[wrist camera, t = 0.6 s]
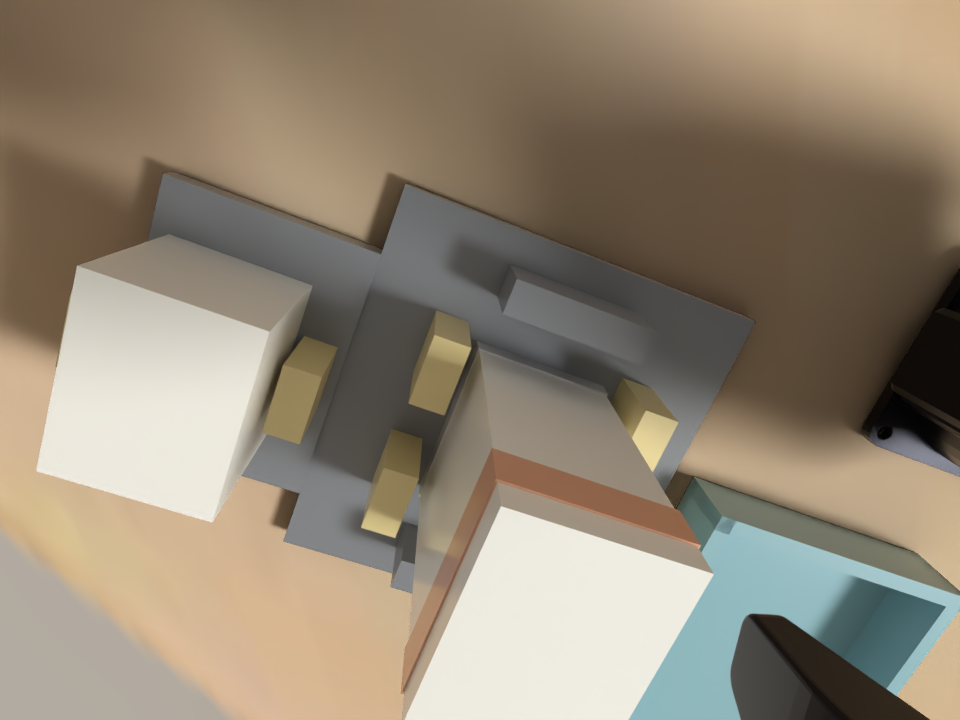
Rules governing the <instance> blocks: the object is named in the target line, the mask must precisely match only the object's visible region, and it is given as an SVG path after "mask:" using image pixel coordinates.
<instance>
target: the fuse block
mask: <svg viewBox="0 0 960 720" xmlns="http://www.w3.org/2000/svg"><path fill="white" fill-rule="evenodd" d="M754 324H755V321H753V320H751V319H750V318H748V317H746V316H744V315H741V314H739V313H736V312H734V311H731V310H728V309H726V308H723V307H721V306H718V305H716V304H713V303H711V302H708V301H705V300H703V299H700V298H698V297H695V296H693V295H690V294H688V293H685V292H683V291H680V290H677V289H675V288H672V287H670V286H667V285H665V284H662V283H660V282H657V281H655V280H652V279H649V278H647V277H644V276H642V275H639V274H637V273H634V272H632V271H629V270H627V269H624V268H621V267H619V266H616V265H614V264H611V263H609V262H606V261H604V260H601V259H599V258H596V257H593V256H591V255H588V254H586V253H583V252H581V251H578V250H576V249H573V248H571V247H568V246H565V245H563V244H560V243H558V242H555V241H553V240H550V239H548V238H545V237H542V236H540V235H537V234H535V233H532V232H530V231H527V230H525V229H522V228H520V227H517V226H514V225H512V224H509V223H507V222H504V221H502V220H499V219H497V218H494V217H492V216H489V215H486V214H484V213H481V212H479V211H476V210H474V209H471V208H469V207H466V206H464V205H461V204H458V203H456V202H453V201H451V200H448V199H446V198H443V197H441V196H438V195H436V194H433V193H430V192H428V191H425V190H423V189H420V188H418V187H415V186H413V185H410V184H408V183H406V184H405V186H404V189H403V192H402V195H401V198H400V201H399V204H398V207H397V210H396V213H395V215H394V218H393V221H392V224H391V227H390V230H389V233H388V236H387V239H386V242H385V245H384V248H383V249H380V248H377V247H375V246H372V245H369V244H367V243H364V242H361V241H359V240H356V239H353V238H351V237H348V236H345V235H343V234H340V233H337V232H334V231H332V230H329V229H326V228H324V227H321V226H318V225H316V224H313V223H310V222H308V221H305V220H302V219H300V218H297V217H294V216H292V215H289V214H286V213H284V212H281V211H278V210H276V209H273V208H270V207H268V206H265V205H262V204H260V203H257V202H254V201H252V200H249V199H246V198H243V197H241V196H238V195H235V194H233V193H230V192H227V191H225V190H222V189H219V188H217V187H214V186H211V185H209V184H206V183H203V182H201V181H198V180H195V179H193V178H190V177H187V176H185V175H182V174H179V173H177V172H171V173H163V176H162V180H161V185H160V189H159V193H158V198H157V202H156V206H155V211H154V215H153V219H152V224H151V228H150V232H149V237H148V241H147V242H145V243H142V244H139V245H136V246H133V247H130V248H127V249H124V250H121V251H118V252H115V253H112V254H110V255H107V256H104V257H101V258H98V259H95V260H92V261H89V262H86V263H83V264H80V265H77V269H76V274H75V279H74V284H73V289H72V292H71V293H70V296H69V301H68V306H67V312H66V317H65V322H64V327H63V332H62V337H61V342H60V347H59V352H58V357H57V362H56V367H57V369H56V374H55V379H54V384H53V389H52V394H51V399H50V404H49V409H48V414H47V419H46V424H45V429H44V434H43V439H42V444H41V449H40V454H39V459H38V464H37V470H36V471H38V472H41V473H44V474H48V475H51V476H55V477H58V478H62V479H65V480H68V481H72V482H75V483H79V484H82V485H85V486H89V487H92V488H96V489H99V490H103V491H106V492H109V493H113V494H116V495H120V496H123V497H126V498H130V499H133V500H137V501H140V502H143V503H147V504H150V505H154V506H157V507H161V508H164V509H167V510H171V511H174V512H178V513H181V514H184V515H188V516H191V517H195V518H198V519H202V520H205V521H208V522H213V521H214V519H215V518H216V516H217V514H218V513H219V511H220V509H221V508H222V506H223V505H224V503H225V501H226V500H227V498H228V497H229V495H230V493H231V492H232V490H233V488H234V487H235V485H236V484H237V482H238V480H239V479H240V477H241V476H244V477H247V478H250V479H254V480H257V481H260V482H264V483H267V484H270V485H273V486H277V487H280V488H283V489H286V490H290V491H293V492H296V493H300V494H299V497H298V500H297V502H296V505H295V508H294V511H293V514H292V517H291V520H290V523H289V526H288V529H287V532H286V535H285V538H284V540H283V541H284V542H287V543H291V544H294V545H297V546H301V547H304V548H308V549H311V550H314V551H318V552H321V553H325V554H328V555H332V556H335V557H338V558H342V559H345V560H349V561H352V562H355V563H359V564H362V565H366V566H369V567H372V568H376V569H379V570H383V571H386V572H389V573H392V580H391V587H392V588H395V589H399V590H402V591H406V592H409V593H412V592H413V580H414V568H415V556H416V544H417V532H418V520H419V508H420V497H419V485H420V482H421V480H422V477H423V475H424V472H425V470H426V467H427V465H428V462H429V460H430V458H431V455H432V453H433V450H434V448H435V445H436V443H437V440H438V438H439V435H440V433H441V430H442V428H443V425H444V423H445V420H446V418H447V415H448V413H449V410H450V408H451V405H452V403H453V401H454V398H455V396H456V393H457V391H458V388H459V386H460V383H461V381H462V378H463V376H464V373H465V371H466V368H467V366H468V363H469V361H470V358H471V356H472V353H473V351H474V348H475V346H476V343H477V341H479V342H482V343H485V344H488V345H490V346H493V347H496V348H499V349H502V350H504V351H507V352H510V353H513V354H515V355H518V356H521V357H524V358H527V359H529V360H532V361H535V362H538V363H540V364H543V365H546V366H549V367H552V368H554V369H557V370H560V371H563V372H566V373H568V374H571V375H574V376H577V377H579V378H582V379H585V380H588V381H591V382H593V383H596V384H599V385H602V386H603V387H604V389H605V390H606V392H607V393H608V396H607V398H608V400H609V401H610V403H611V405H612V406H613V408H614V410H615V411H616V413H617V415H618V416H619V418H620V419H621V421H622V423H623V424H624V426H625V428H626V429H627V431H628V433H629V434H630V436H631V438H632V439H633V441H634V443H635V444H636V446H637V448H638V449H639V451H640V453H641V454H642V456H643V458H644V459H645V461H646V462H647V464H648V466H649V467H650V469H651V471H652V472H653V474H654V476H655V477H656V479H657V481H658V482H659V484H660V486H661V487H662V489H663V491H664V492H665V490H666V489H667V487H668V485H669V483H670V481H671V479H672V477H673V476H674V474H675V472H676V470H677V468H678V466H679V464H680V462H681V461H682V459H683V457H684V455H685V453H686V451H687V449H688V447H689V446H690V444H691V442H692V440H693V438H694V436H695V434H696V433H697V431H698V429H699V427H700V425H701V423H702V421H703V419H704V418H705V416H706V414H707V412H708V410H709V408H710V406H711V405H712V403H713V401H714V399H715V397H716V395H717V393H718V391H719V390H720V388H721V386H722V384H723V382H724V380H725V378H726V376H727V375H728V373H729V371H730V369H731V367H732V365H733V363H734V362H735V360H736V358H737V356H738V354H739V352H740V350H741V348H742V347H743V345H744V343H745V341H746V339H747V337H748V335H749V334H750V332H751V330H752V328H753V326H754Z"/></svg>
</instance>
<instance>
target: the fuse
mask: <svg viewBox="0 0 960 720" xmlns="http://www.w3.org/2000/svg"><path fill="white" fill-rule="evenodd" d="M607 396H608V393H607V392H606V390H605V389H604V387H603V386H602V385H599V384H596V383H593V382H591V381H588V380H585V379H582V378H579V377H577V376H574V375H571V374H568V373H566V372H563V371H560V370H557V369H554V368H552V367H549V366H546V365H543V364H540V363H538V362H535V361H532V360H529V359H527V358H524V357H521V356H518V355H515V354H513V353H510V352H507V351H504V350H502V349H499V348H496V347H493V346H490V345H488V344H485V343H482V342H479V341H477V343H476V346H475V348H474V351H473V353H472V356H471V358H470V361H469V363H468V366H467V368H466V371H465V373H464V376H463V378H462V381H461V383H460V386H459V388H458V391H457V393H456V396H455V398H454V401H453V403H452V405H451V408H450V410H449V413H448V415H447V418H446V420H445V423H444V425H443V428H442V430H441V433H440V435H439V438H438V440H437V443H436V445H435V448H434V450H433V453H432V455H431V458H430V460H429V462H428V465H427V467H426V470H425V472H424V475H423V477H422V480H421V482H420V485H419V497H420V508H419V520H418V532H417V544H416V556H415V568H414V580H413V592H412V604H411V616H410V628H409V640H408V643H407V645H406V647H405V654H404V665H403V676H402V687H401V694H404V700H403V712H402V720H629V718H630V716H631V715H632V713H633V711H634V710H635V708H636V706H637V704H638V703H639V701H640V699H641V698H642V696H643V694H644V693H645V691H646V689H647V687H648V686H649V684H650V682H651V681H652V679H653V677H654V676H655V674H656V672H657V670H658V669H659V667H660V665H661V664H662V662H663V660H664V658H665V657H666V655H667V653H668V652H669V650H670V648H671V647H672V645H673V643H674V641H675V640H676V638H677V636H678V635H679V633H680V631H681V630H682V628H683V626H684V624H685V623H686V621H687V619H688V618H689V616H690V614H691V612H692V611H693V609H694V607H695V606H696V604H697V602H698V601H699V599H700V597H701V595H702V594H703V592H704V590H705V589H706V587H707V585H708V584H709V582H710V580H711V578H712V577H713V575H714V573H713V572H712V570H711V568H710V567H709V565H708V563H707V562H706V560H705V558H704V557H703V555H702V553H701V552H700V550H699V548H700V546H701V544H700V543H699V541H698V540H697V538H696V536H695V535H694V533H693V531H692V530H691V528H690V527H689V525H688V523H687V522H686V520H685V518H684V517H683V515H682V514H681V512H680V510H677V509H674V507H673V505H672V504H671V502H670V501H669V499H668V497H667V496H666V494H665V492H664V491H663V489H662V487H661V486H660V484H659V482H658V481H657V479H656V477H655V476H654V474H653V472H652V471H651V469H650V467H649V466H648V464H647V462H646V461H645V459H644V458H643V456H642V454H641V453H640V451H639V449H638V448H637V446H636V444H635V443H634V441H633V439H632V438H631V436H630V434H629V433H628V431H627V429H626V428H625V426H624V424H623V423H622V421H621V419H620V418H619V416H618V415H617V413H616V411H615V410H614V408H613V406H612V405H611V403H610V401H609V400H608V398H607Z"/></svg>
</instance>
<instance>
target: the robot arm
mask: <svg viewBox="0 0 960 720" xmlns="http://www.w3.org/2000/svg"><path fill="white" fill-rule="evenodd" d="M883 426H885V428H884V430H883V431H882V432H881V433H880V434H877V432H878V430H879V429H880V428H881V427H883ZM862 434H863V435H864V437H865V438H866V439H867V440H869V441H870V442H871V443H873V444H874V445H876V446H878V447H881V448H883V449H886V450H889V451H891V452H894V453H897V454H900V455H902V456H905V457H908V458H910V459H913V460H916V461H918V462H921V463H924V464H927V465H929V466H932V467H935V468H937V469H940V470H943V471H945V472H948V473H951V474H954V475H956V476H959V477H960V269H959V270H958V272H957V274H956V275H955V277H954V278H953V280H952V282H951V283H950V285H949V286H948V288H947V290H946V291H945V293H944V295H943V296H942V298H941V299H940V301H939V303H938V304H937V306H936V307H935V309H934V311H933V312H932V314H931V316H930V317H929V319H928V320H927V322H926V324H925V325H924V327H923V328H922V330H921V332H920V333H919V335H918V337H917V338H916V340H915V341H914V343H913V345H912V346H911V348H910V350H909V351H908V353H907V354H906V356H905V358H904V359H903V361H902V362H901V364H900V366H899V367H898V369H897V371H896V372H895V374H894V375H893V377H892V379H891V380H890V382H889V383H888V385H887V387H886V388H885V390H884V392H883V393H882V395H881V396H880V398H879V400H878V401H877V403H876V404H875V406H874V408H873V409H872V411H871V413H870V414H869V416H868V417H867V419H866V421H865V422H864V425H863V427H862ZM730 680H731V687H732V691H733V694H734V698H735V702H736V705H737V709H738V712H739V716H740V719H741V720H930V719H928V718H927V717H925V716H924V715H923V714H921V713H920V712H918V711H917V710H916V709H914V708H913V707H911V706H910V705H908V704H907V703H906V702H904V701H903V700H901V699H900V698H899V697H897V696H896V695H894V694H893V693H891V692H890V691H889V690H887V689H886V688H884V687H883V686H882V685H880V684H879V683H877V682H876V681H874V680H873V679H872V678H870V677H869V676H867V675H866V674H865V673H863V672H862V671H860V670H859V669H858V668H856V667H855V666H853V665H852V664H850V663H849V662H848V661H846V660H845V659H843V658H842V657H841V656H839V655H838V654H836V653H835V652H833V651H832V650H831V649H829V648H828V647H826V646H825V645H824V644H822V643H821V642H819V641H818V640H816V639H815V638H814V637H812V636H811V635H809V634H808V633H807V632H805V631H804V630H802V629H801V628H799V627H798V626H797V625H795V624H794V623H792V622H791V621H790V620H788V619H787V618H785V617H783V616H781V615H774V614H756V613H752V614H749V615H747V616H746V617H745V618H744V620H743V622H742V625H741V629H740V632H739V636H738V640H737V644H736V648H735V652H734V656H733V660H732V664H731V670H730Z"/></svg>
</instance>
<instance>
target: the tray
mask: <svg viewBox="0 0 960 720" xmlns="http://www.w3.org/2000/svg"><path fill="white" fill-rule="evenodd" d="M676 509H677V510H680V512H681V514H682V515H683V517H684V518H685V520H686V522H687V523H688V525H689V527H690V528H691V530H692V531H693V533H694V535H695V536H696V538H697V540H698V541H699V543H700V544H701V546H700V548H699V550H700V552H701V553H702V555H703V557H704V558H705V560H706V562H707V563H708V565H709V567H710V568H711V570H712V572H713V573H714V575H713V577H712V578H711V580H710V582H709V584H708V585H707V587H706V589H705V590H704V592H703V594H702V595H701V597H700V599H699V601H698V602H697V604H696V606H695V607H694V609H693V611H692V612H691V614H690V616H689V618H688V619H687V621H686V623H685V624H684V626H683V628H682V630H681V631H680V633H679V635H678V636H677V638H676V640H675V641H674V643H673V645H672V647H671V648H670V650H669V652H668V653H667V655H666V657H665V658H664V660H663V662H662V664H661V665H660V667H659V669H658V670H657V672H656V674H655V676H654V677H653V679H652V681H651V682H650V684H649V686H648V687H647V689H646V691H645V693H644V694H643V696H642V698H641V699H640V701H639V703H638V704H637V706H636V708H635V710H634V711H633V713H632V715H631V716H630V718H629V720H741V719H740V716H739V712H738V709H737V705H736V702H735V698H734V694H733V691H732V687H731V680H730V670H731V664H732V660H733V656H734V652H735V648H736V644H737V640H738V636H739V632H740V629H741V625H742V622H743V620H744V618H745V617H746V616H747V615H749V614H752V613H756V614H774V615H781V616H783V617H785V618H787V619H788V620H790V621H791V622H792V623H794V624H795V625H797V626H798V627H799V628H801V629H802V630H804V631H805V632H807V633H808V634H809V635H811V636H812V637H814V638H815V639H816V640H818V641H819V642H821V643H822V644H824V645H825V646H826V647H828V648H829V649H831V650H832V651H833V652H835V653H836V654H838V655H839V656H841V657H842V658H843V659H845V660H846V661H848V662H849V663H850V664H852V665H853V666H855V667H856V668H858V669H859V670H860V671H862V672H863V673H865V674H866V675H867V676H869V677H870V678H872V679H873V680H874V681H876V682H877V683H879V684H880V685H882V686H883V687H884V688H886V689H887V690H889V691H890V692H891V693H893V694H894V695H896V696H897V694H898V693H899V692H900V690H901V689H902V688H903V686H904V685H905V684H906V682H907V681H908V679H909V678H910V677H911V675H912V674H913V673H914V671H915V670H916V669H917V667H918V666H919V665H920V663H921V662H922V660H923V659H924V658H925V656H926V655H927V654H928V652H929V651H930V650H931V648H932V647H933V646H934V644H935V643H936V642H937V640H938V639H939V637H940V636H941V635H942V633H943V632H944V631H945V629H946V628H947V627H948V625H949V624H950V623H951V621H952V620H953V618H954V617H955V616H956V614H957V613H958V612H959V610H960V591H959V590H958V589H957V588H956V587H954V586H953V585H952V584H951V583H950V582H949V581H948V580H947V579H945V578H944V577H943V576H942V575H941V574H940V573H939V572H938V571H936V570H935V569H934V568H933V567H932V566H931V565H930V564H929V563H927V562H926V561H925V560H924V559H923V558H922V557H921V556H920V555H918V554H917V553H915V552H912V551H909V550H906V549H903V548H900V547H897V546H894V545H891V544H888V543H886V542H883V541H880V540H877V539H874V538H871V537H868V536H865V535H862V534H859V533H856V532H853V531H851V530H848V529H845V528H842V527H839V526H836V525H833V524H830V523H827V522H824V521H821V520H819V519H816V518H813V517H810V516H807V515H804V514H801V513H798V512H795V511H792V510H789V509H787V508H784V507H781V506H778V505H775V504H772V503H769V502H766V501H763V500H760V499H757V498H755V497H752V496H749V495H746V494H743V493H740V492H737V491H734V490H731V489H728V488H725V487H723V486H720V485H717V484H714V483H711V482H708V481H705V480H702V479H699V478H696V477H693V479H692V481H691V483H690V484H689V486H688V488H687V490H686V492H685V494H684V495H683V497H682V499H681V501H680V503H679V505H678V506H677V508H676Z"/></svg>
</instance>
